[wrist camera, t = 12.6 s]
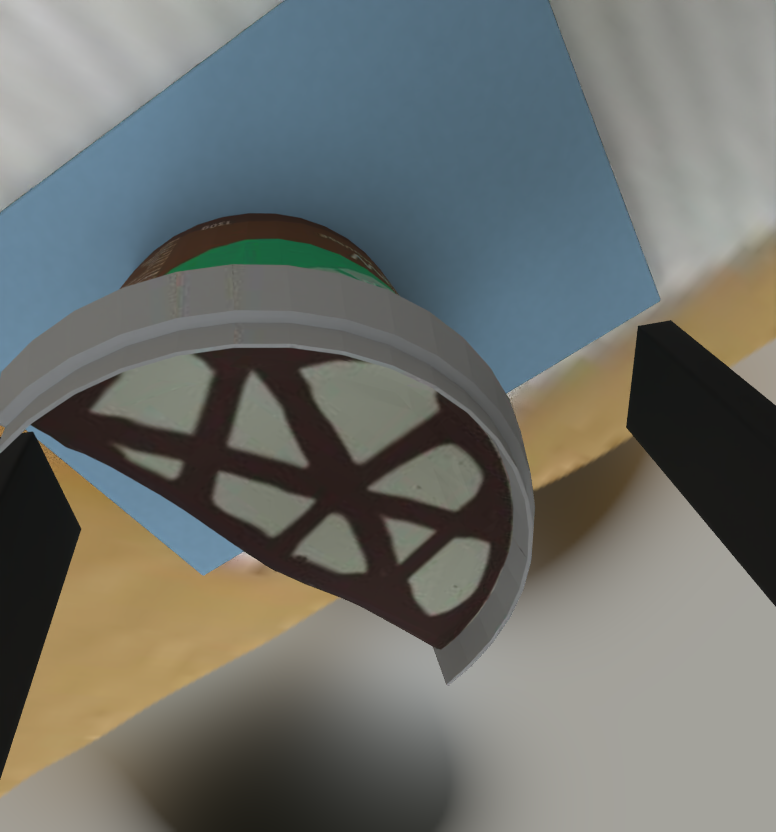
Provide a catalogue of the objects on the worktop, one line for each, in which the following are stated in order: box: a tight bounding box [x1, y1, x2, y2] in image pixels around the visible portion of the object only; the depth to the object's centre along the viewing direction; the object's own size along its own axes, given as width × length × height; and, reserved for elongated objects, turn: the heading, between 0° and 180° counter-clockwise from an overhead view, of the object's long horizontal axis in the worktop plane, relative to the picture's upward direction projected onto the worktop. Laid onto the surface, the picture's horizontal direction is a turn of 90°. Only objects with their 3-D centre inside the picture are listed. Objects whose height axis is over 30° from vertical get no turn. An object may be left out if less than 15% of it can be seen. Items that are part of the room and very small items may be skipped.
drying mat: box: [0, 0, 660, 575], centre depth 21 cm, size 20×14×1 cm
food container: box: [0, 213, 535, 685], centre depth 17 cm, size 12×6×10 cm, turn 45°
